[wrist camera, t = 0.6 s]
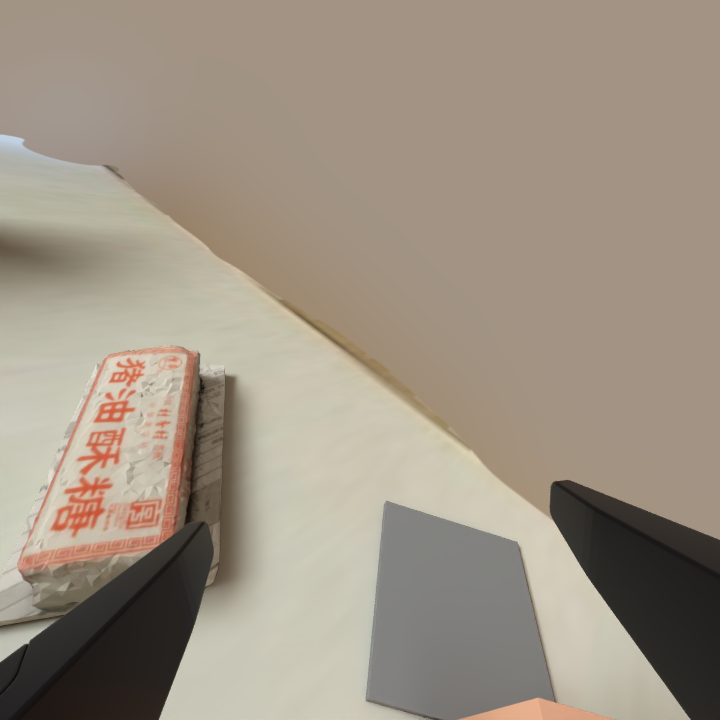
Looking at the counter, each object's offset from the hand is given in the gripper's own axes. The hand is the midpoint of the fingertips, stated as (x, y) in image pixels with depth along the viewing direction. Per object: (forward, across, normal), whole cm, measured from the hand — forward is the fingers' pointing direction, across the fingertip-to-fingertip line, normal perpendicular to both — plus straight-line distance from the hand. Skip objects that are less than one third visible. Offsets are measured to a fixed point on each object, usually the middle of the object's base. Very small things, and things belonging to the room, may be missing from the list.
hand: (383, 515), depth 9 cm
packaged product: (+15, +16, +5) cm, 22 cm away
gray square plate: (+10, -5, +15) cm, 19 cm away
